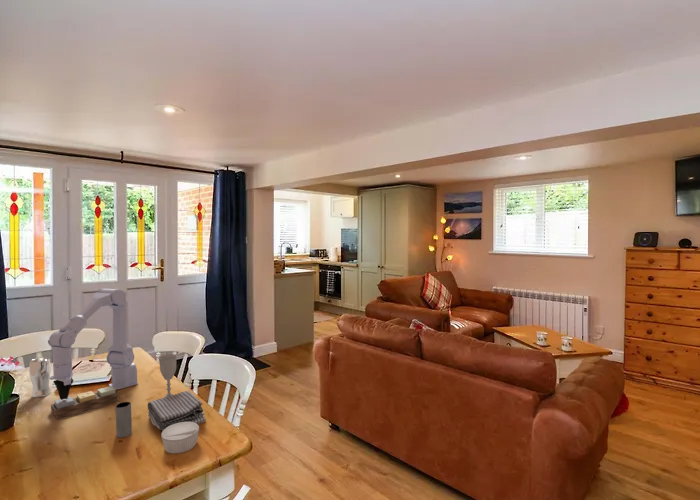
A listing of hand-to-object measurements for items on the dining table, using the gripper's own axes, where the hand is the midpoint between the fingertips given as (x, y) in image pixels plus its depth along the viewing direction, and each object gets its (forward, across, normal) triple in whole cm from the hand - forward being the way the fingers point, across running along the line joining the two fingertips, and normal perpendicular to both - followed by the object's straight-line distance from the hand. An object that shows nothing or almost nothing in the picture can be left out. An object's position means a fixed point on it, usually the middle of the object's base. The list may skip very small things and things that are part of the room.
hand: (63, 398), depth 147 cm
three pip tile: (+3, 0, 0) cm, 3 cm away
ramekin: (+6, +55, +20) cm, 59 cm away
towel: (+6, +37, +26) cm, 46 cm away
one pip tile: (+3, 0, +14) cm, 14 cm away
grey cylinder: (+6, +34, +10) cm, 36 cm away
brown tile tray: (+5, 0, +7) cm, 9 cm away
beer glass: (+6, -26, -3) cm, 27 cm away
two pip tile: (+3, 0, +7) cm, 8 cm away
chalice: (+5, +19, +31) cm, 37 cm away
